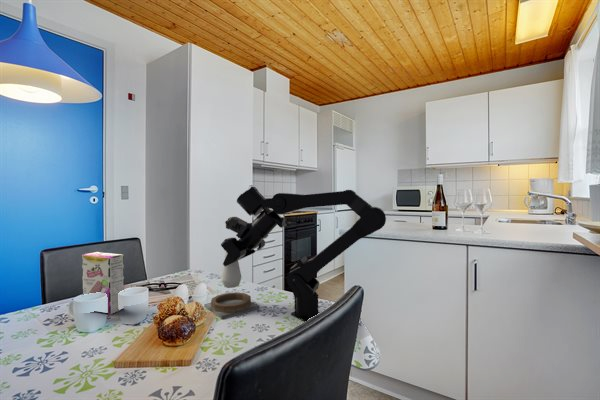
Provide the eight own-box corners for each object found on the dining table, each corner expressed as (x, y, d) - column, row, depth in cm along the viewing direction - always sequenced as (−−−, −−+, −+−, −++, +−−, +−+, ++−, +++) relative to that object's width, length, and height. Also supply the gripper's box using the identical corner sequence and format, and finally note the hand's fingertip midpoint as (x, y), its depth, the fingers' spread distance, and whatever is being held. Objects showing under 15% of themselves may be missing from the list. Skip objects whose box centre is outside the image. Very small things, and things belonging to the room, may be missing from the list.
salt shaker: (240, 288, 86) (239, 243, 86) (220, 289, 86) (219, 244, 86) (242, 282, 92) (241, 240, 92) (223, 283, 92) (222, 241, 91)
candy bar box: (81, 310, 87) (80, 254, 87) (98, 304, 92) (97, 251, 91) (109, 315, 83) (109, 257, 83) (125, 309, 88) (124, 253, 88)
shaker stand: (258, 308, 89) (258, 299, 88) (222, 319, 81) (221, 309, 81) (239, 297, 97) (238, 290, 97) (204, 306, 90) (203, 298, 90)
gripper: (255, 206, 97) (225, 239, 100) (226, 209, 79) (191, 249, 82) (278, 231, 95) (247, 264, 98) (255, 239, 77) (217, 280, 80)
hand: (227, 263), depth 89 cm, fingers closed on salt shaker, 3 cm apart
